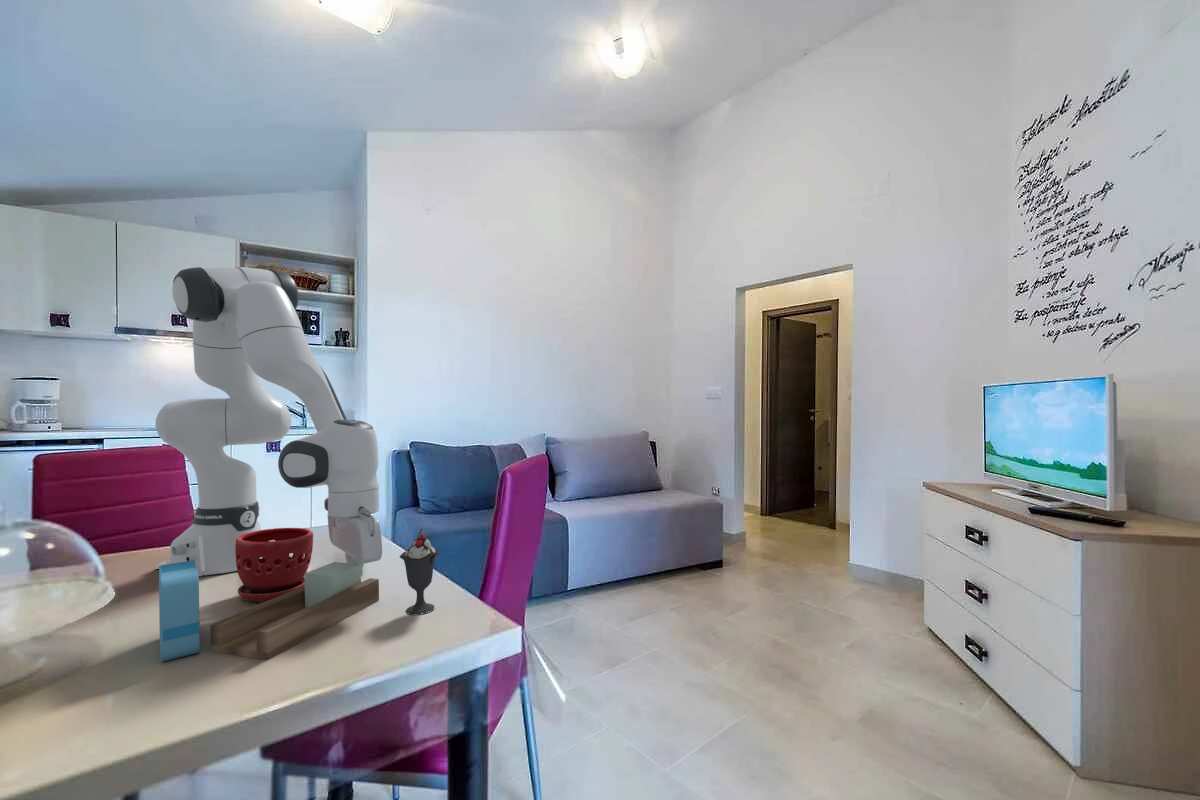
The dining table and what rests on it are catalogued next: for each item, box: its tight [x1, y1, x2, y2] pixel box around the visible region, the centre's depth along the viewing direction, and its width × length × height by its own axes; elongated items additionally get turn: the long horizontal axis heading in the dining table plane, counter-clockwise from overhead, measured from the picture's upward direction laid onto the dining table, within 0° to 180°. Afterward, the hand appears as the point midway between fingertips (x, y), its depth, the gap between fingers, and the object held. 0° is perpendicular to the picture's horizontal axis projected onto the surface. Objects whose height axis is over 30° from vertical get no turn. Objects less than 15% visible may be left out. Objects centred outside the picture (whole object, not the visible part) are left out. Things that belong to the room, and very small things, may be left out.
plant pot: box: [235, 527, 314, 603], centre depth 105 cm, size 13×13×12 cm
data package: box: [158, 560, 201, 663], centre depth 83 cm, size 12×4×12 cm, turn 40°
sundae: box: [399, 528, 440, 615], centre depth 96 cm, size 7×7×15 cm
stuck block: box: [304, 561, 362, 607], centre depth 97 cm, size 6×7×6 cm
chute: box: [209, 577, 380, 661], centre depth 91 cm, size 11×24×4 cm, turn 164°
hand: (355, 576), depth 102 cm, fingers closed
